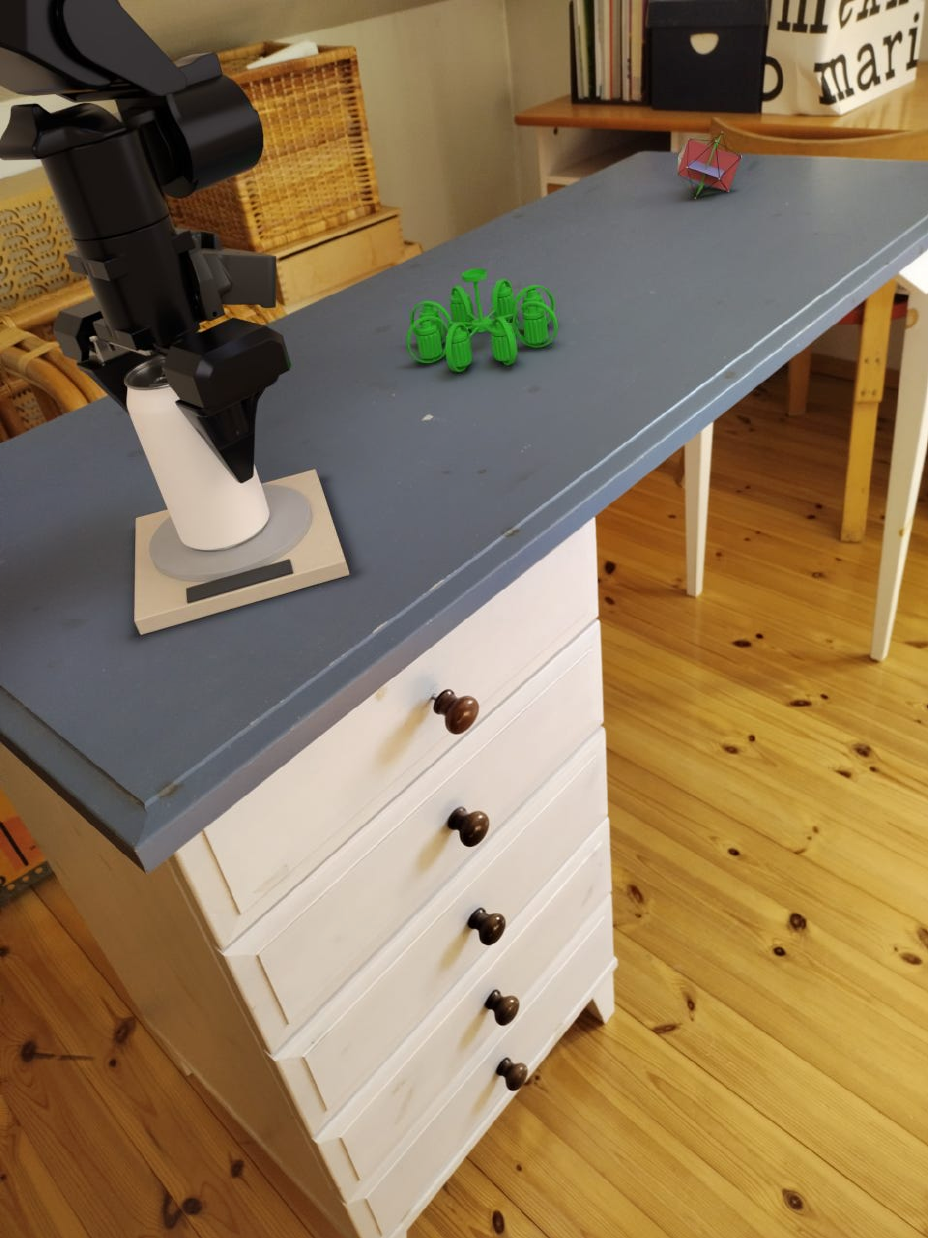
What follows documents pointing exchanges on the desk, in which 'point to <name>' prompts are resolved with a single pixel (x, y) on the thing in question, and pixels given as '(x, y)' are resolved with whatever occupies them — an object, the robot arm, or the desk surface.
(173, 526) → the scale
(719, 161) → the geometric puzzle
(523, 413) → the desk surface
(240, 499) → the can
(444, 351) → the chandelier
